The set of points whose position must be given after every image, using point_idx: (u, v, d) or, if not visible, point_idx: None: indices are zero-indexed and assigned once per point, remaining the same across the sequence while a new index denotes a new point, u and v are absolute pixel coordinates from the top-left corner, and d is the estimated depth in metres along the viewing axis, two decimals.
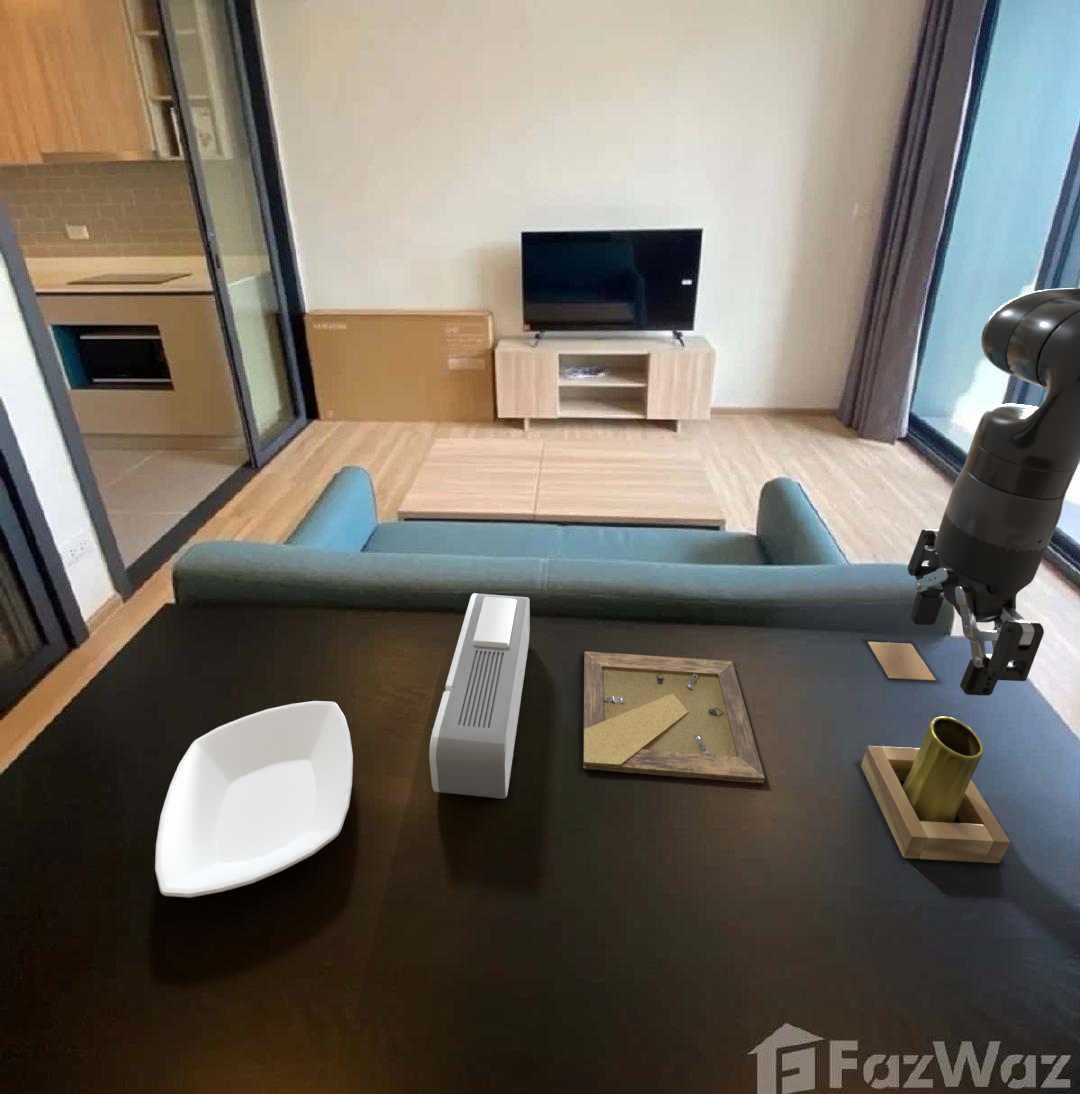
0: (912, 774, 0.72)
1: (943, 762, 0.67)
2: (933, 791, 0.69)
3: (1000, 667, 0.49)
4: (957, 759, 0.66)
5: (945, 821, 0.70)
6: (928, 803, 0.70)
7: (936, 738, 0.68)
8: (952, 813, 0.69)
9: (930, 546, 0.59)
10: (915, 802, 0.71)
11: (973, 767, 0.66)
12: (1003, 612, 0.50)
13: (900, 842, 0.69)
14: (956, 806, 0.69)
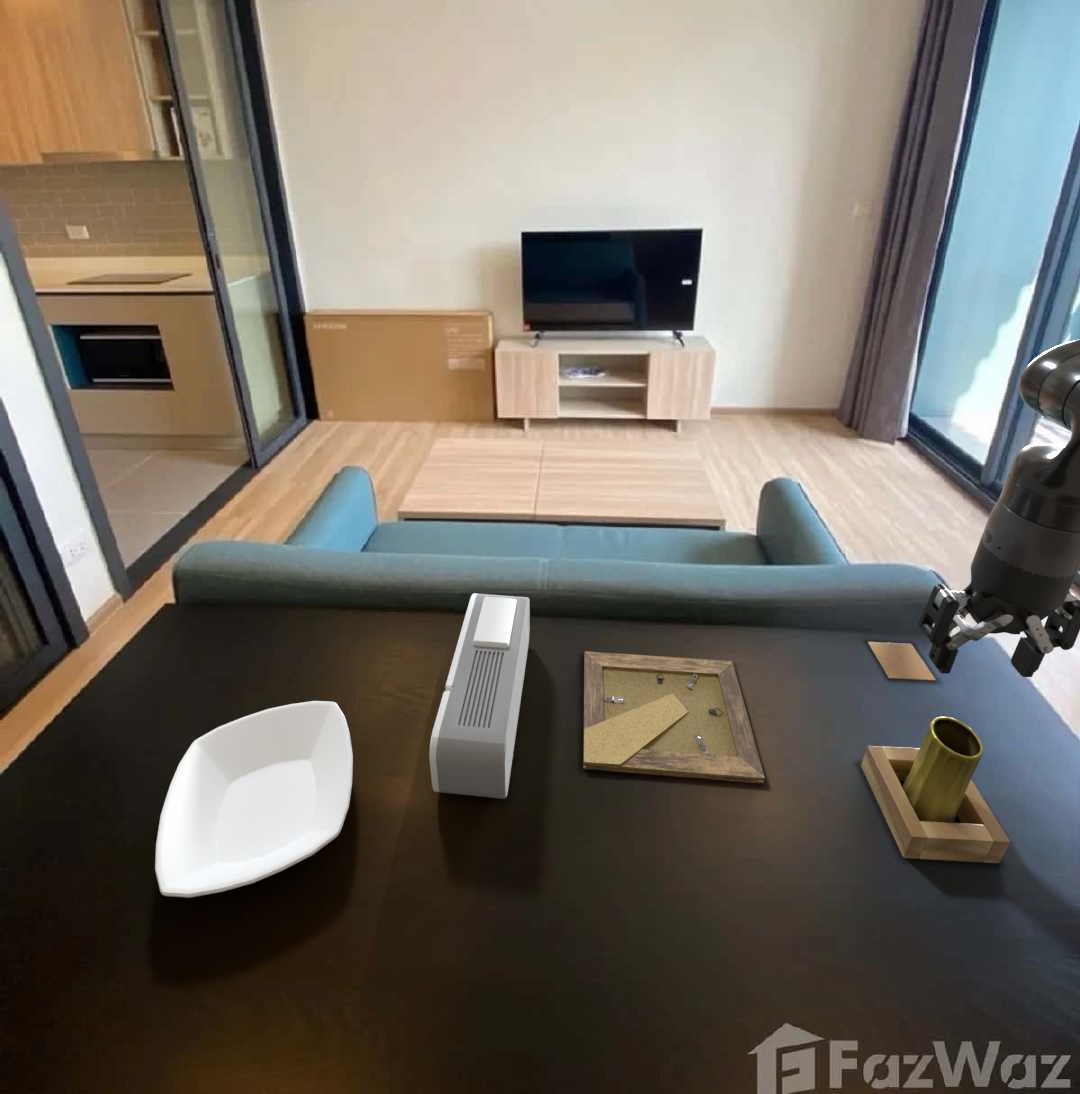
0: (912, 774, 0.72)
1: (943, 763, 0.67)
2: (933, 791, 0.69)
3: (922, 614, 0.62)
4: (957, 759, 0.66)
5: (945, 822, 0.70)
6: (928, 803, 0.70)
7: (936, 738, 0.68)
8: (952, 813, 0.69)
9: None
10: (915, 802, 0.71)
11: (973, 767, 0.66)
12: None
13: (900, 842, 0.69)
14: (956, 806, 0.69)
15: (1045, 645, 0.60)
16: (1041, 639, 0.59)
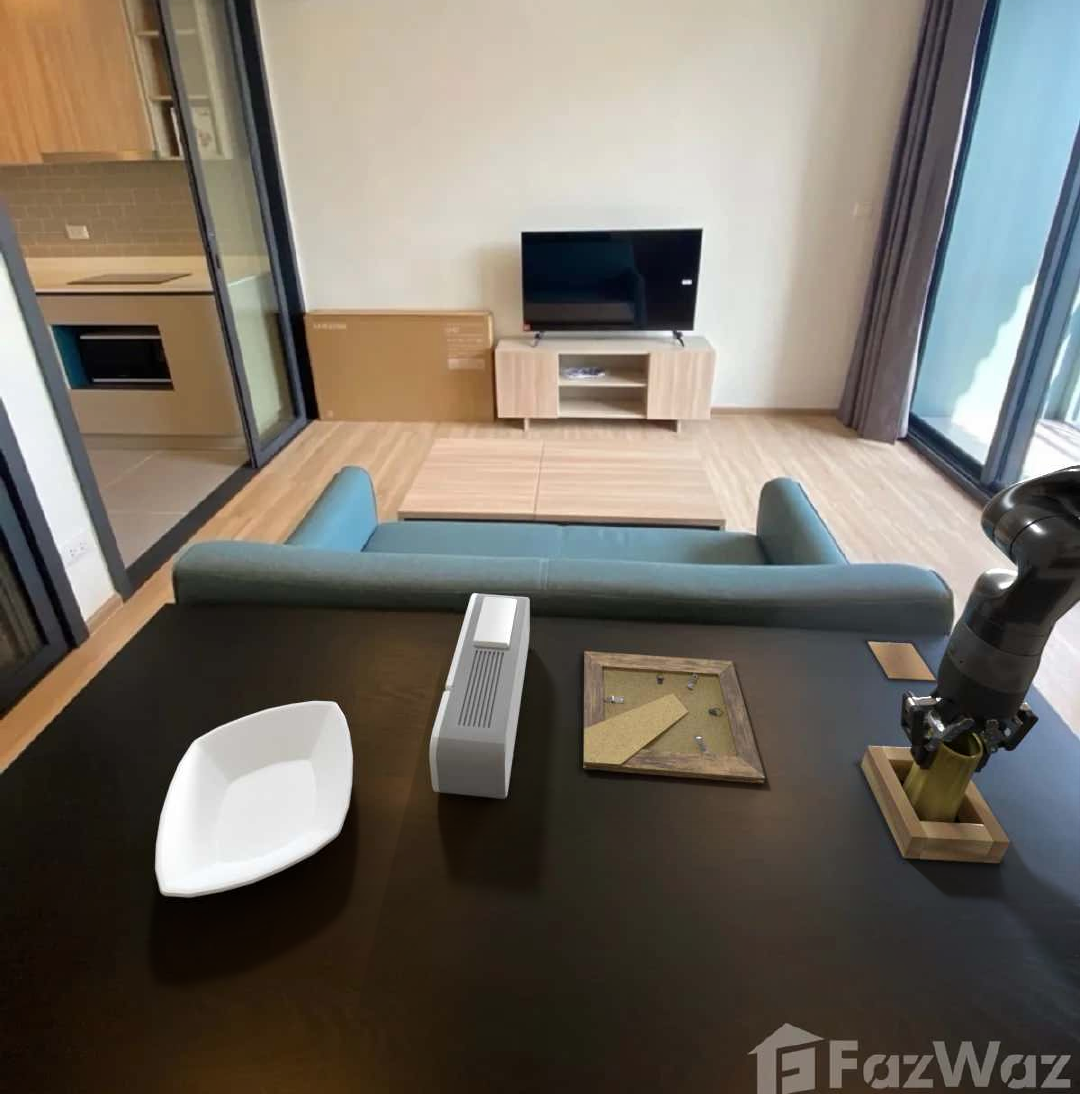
0: (912, 774, 0.72)
1: (943, 762, 0.67)
2: (933, 791, 0.69)
3: (901, 717, 0.69)
4: (957, 759, 0.66)
5: (945, 821, 0.70)
6: (928, 803, 0.70)
7: None
8: (952, 813, 0.69)
9: None
10: (915, 802, 0.71)
11: (973, 767, 0.66)
12: None
13: (900, 842, 0.69)
14: (956, 806, 0.69)
15: (991, 746, 0.66)
16: (992, 741, 0.65)
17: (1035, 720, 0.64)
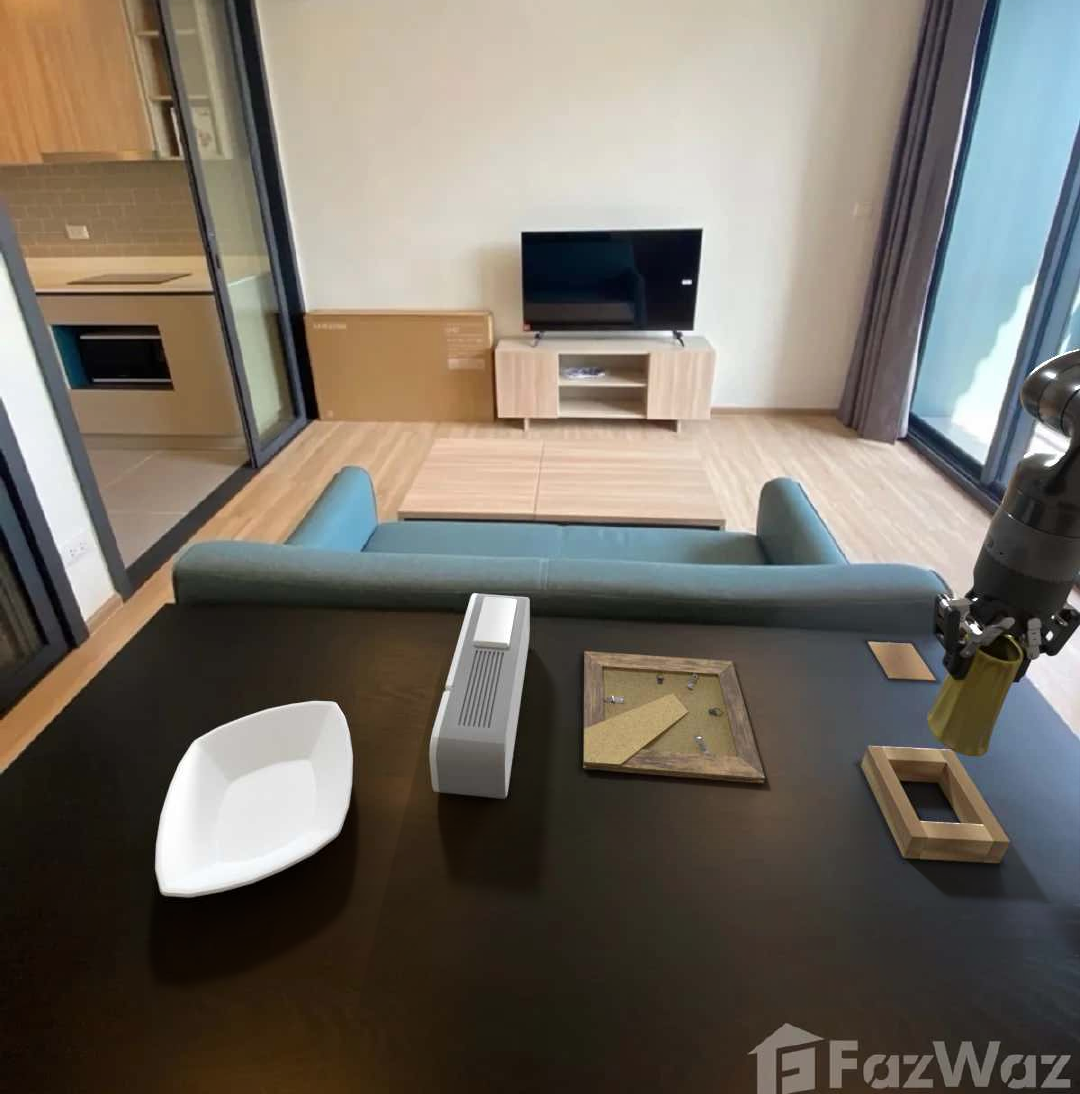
0: (945, 689, 0.67)
1: (979, 670, 0.62)
2: (968, 704, 0.64)
3: (933, 624, 0.64)
4: (995, 666, 0.61)
5: (981, 737, 0.65)
6: (962, 718, 0.65)
7: None
8: (989, 727, 0.64)
9: None
10: (948, 718, 0.66)
11: (1012, 674, 0.61)
12: None
13: (900, 842, 0.69)
14: (993, 719, 0.64)
15: (1032, 651, 0.61)
16: (1033, 644, 0.60)
17: None
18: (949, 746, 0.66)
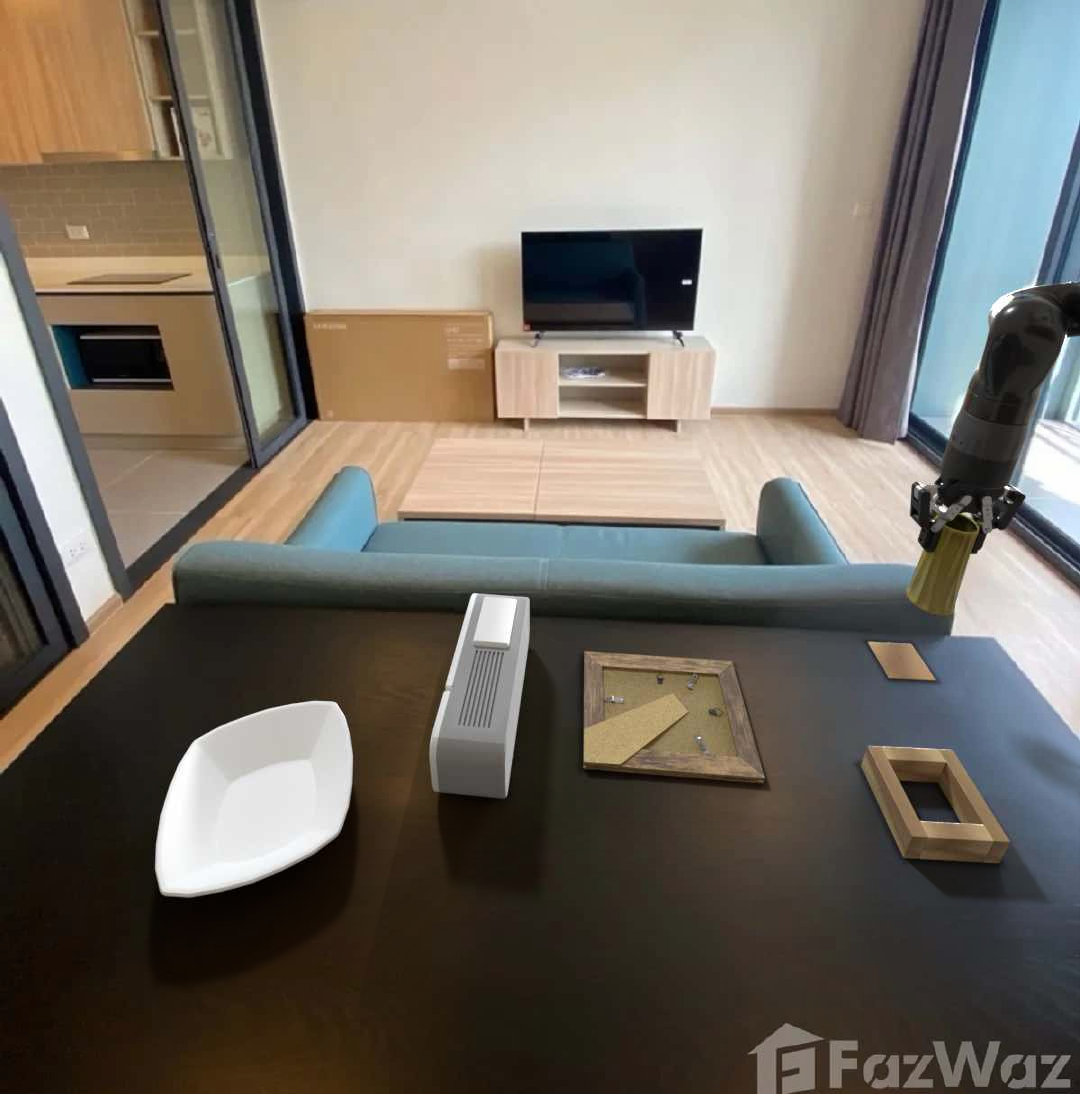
0: (920, 563, 0.84)
1: (946, 542, 0.80)
2: (937, 571, 0.81)
3: (910, 508, 0.81)
4: (958, 536, 0.79)
5: (948, 598, 0.82)
6: (933, 583, 0.82)
7: None
8: (954, 589, 0.81)
9: None
10: (922, 585, 0.83)
11: (971, 544, 0.79)
12: None
13: (900, 842, 0.69)
14: (957, 583, 0.81)
15: (987, 526, 0.79)
16: (987, 518, 0.78)
17: (1023, 498, 0.77)
18: (923, 608, 0.84)
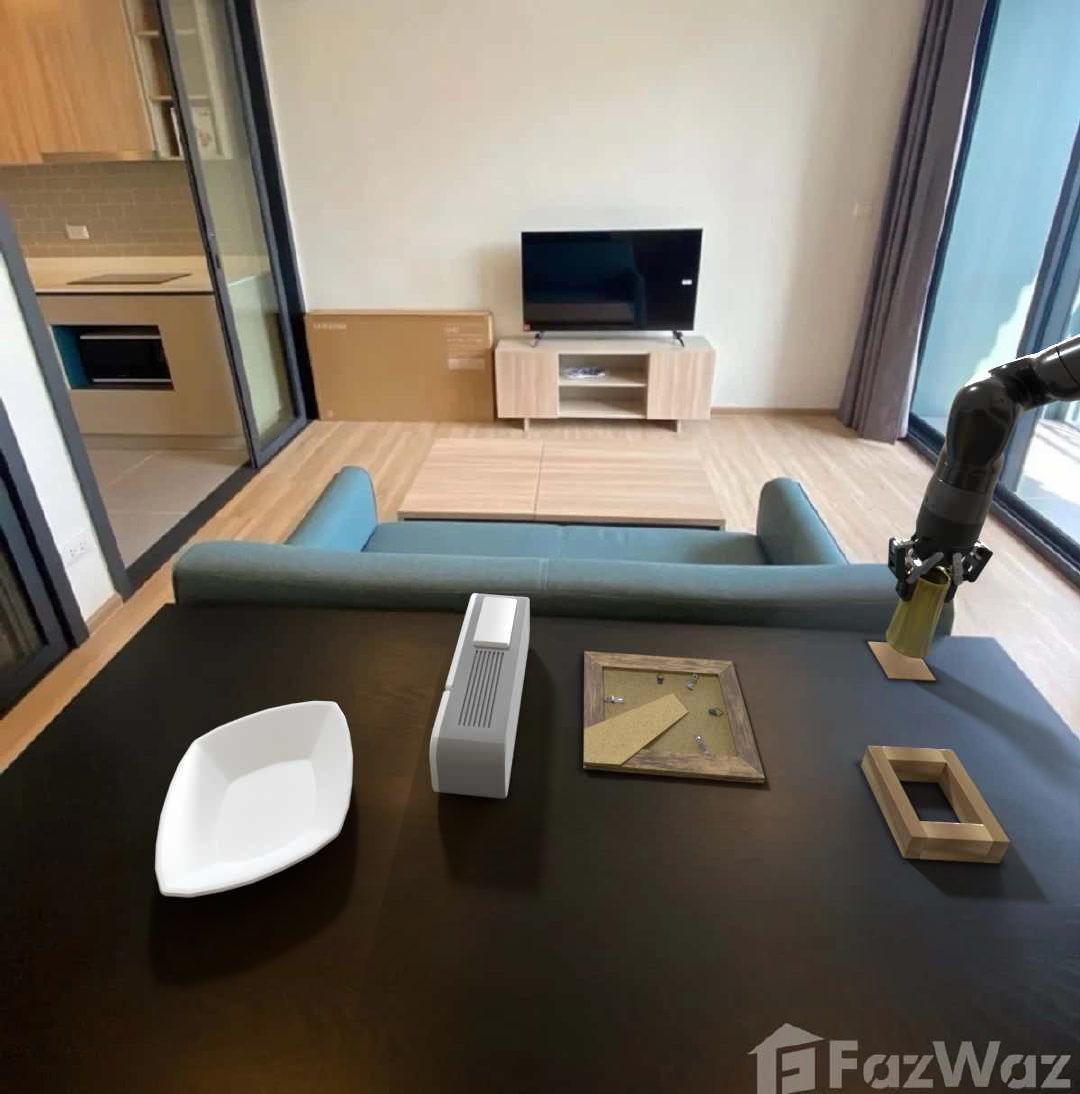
0: (897, 610, 0.91)
1: (920, 592, 0.87)
2: (913, 618, 0.88)
3: (888, 560, 0.88)
4: (931, 588, 0.86)
5: (923, 643, 0.89)
6: (909, 629, 0.89)
7: None
8: (928, 635, 0.88)
9: None
10: (899, 630, 0.90)
11: (943, 595, 0.86)
12: None
13: (900, 842, 0.69)
14: (931, 629, 0.88)
15: (958, 579, 0.86)
16: (957, 572, 0.85)
17: (990, 554, 0.84)
18: (900, 651, 0.91)
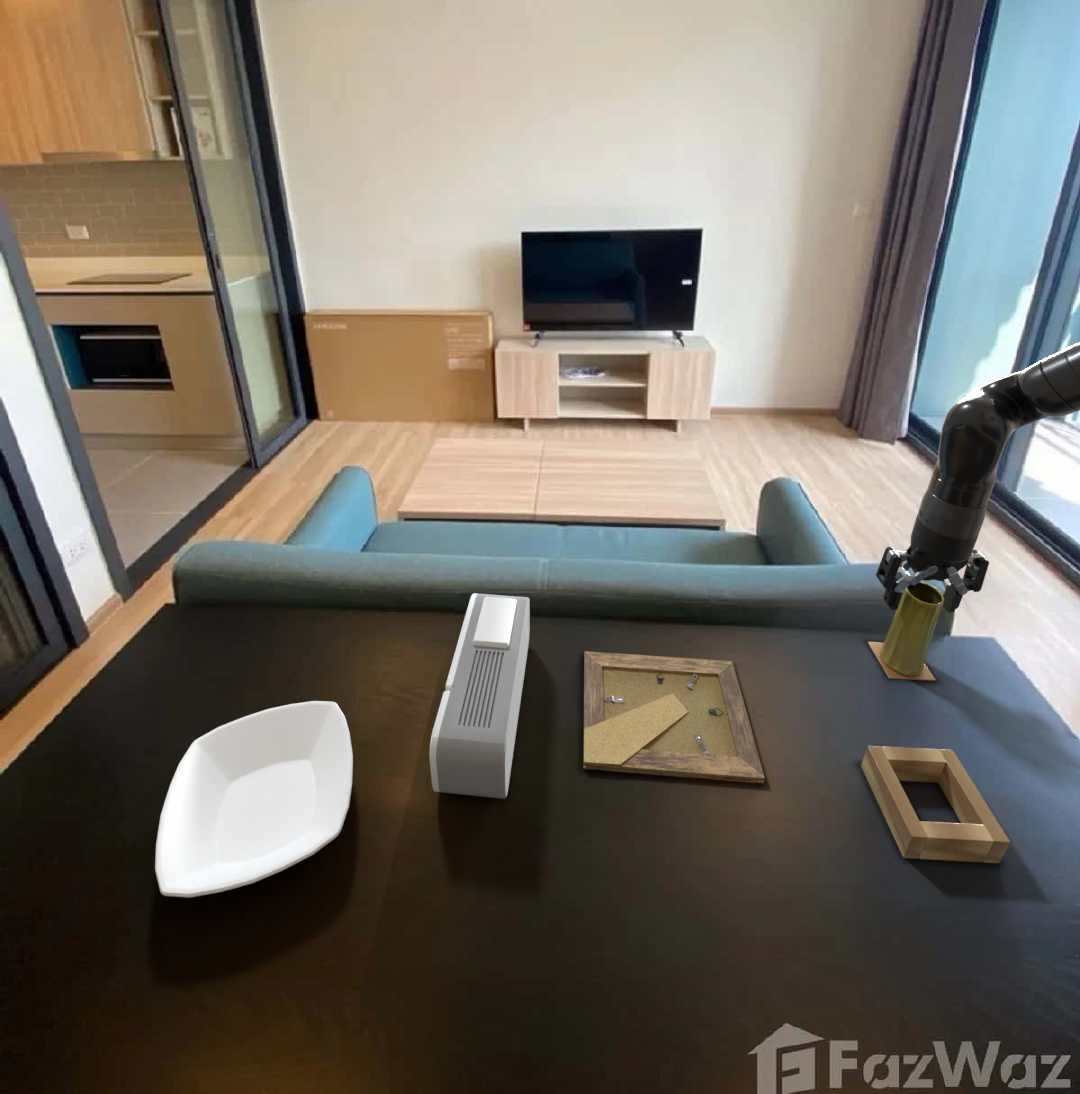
0: (892, 627, 0.93)
1: (914, 611, 0.88)
2: (907, 636, 0.90)
3: (878, 568, 0.89)
4: (924, 607, 0.87)
5: (916, 661, 0.90)
6: (903, 647, 0.91)
7: (909, 593, 0.88)
8: (922, 653, 0.90)
9: None
10: (894, 648, 0.92)
11: (936, 613, 0.87)
12: None
13: (900, 842, 0.69)
14: (924, 647, 0.90)
15: (961, 589, 0.87)
16: (958, 584, 0.86)
17: (986, 563, 0.85)
18: (894, 669, 0.92)
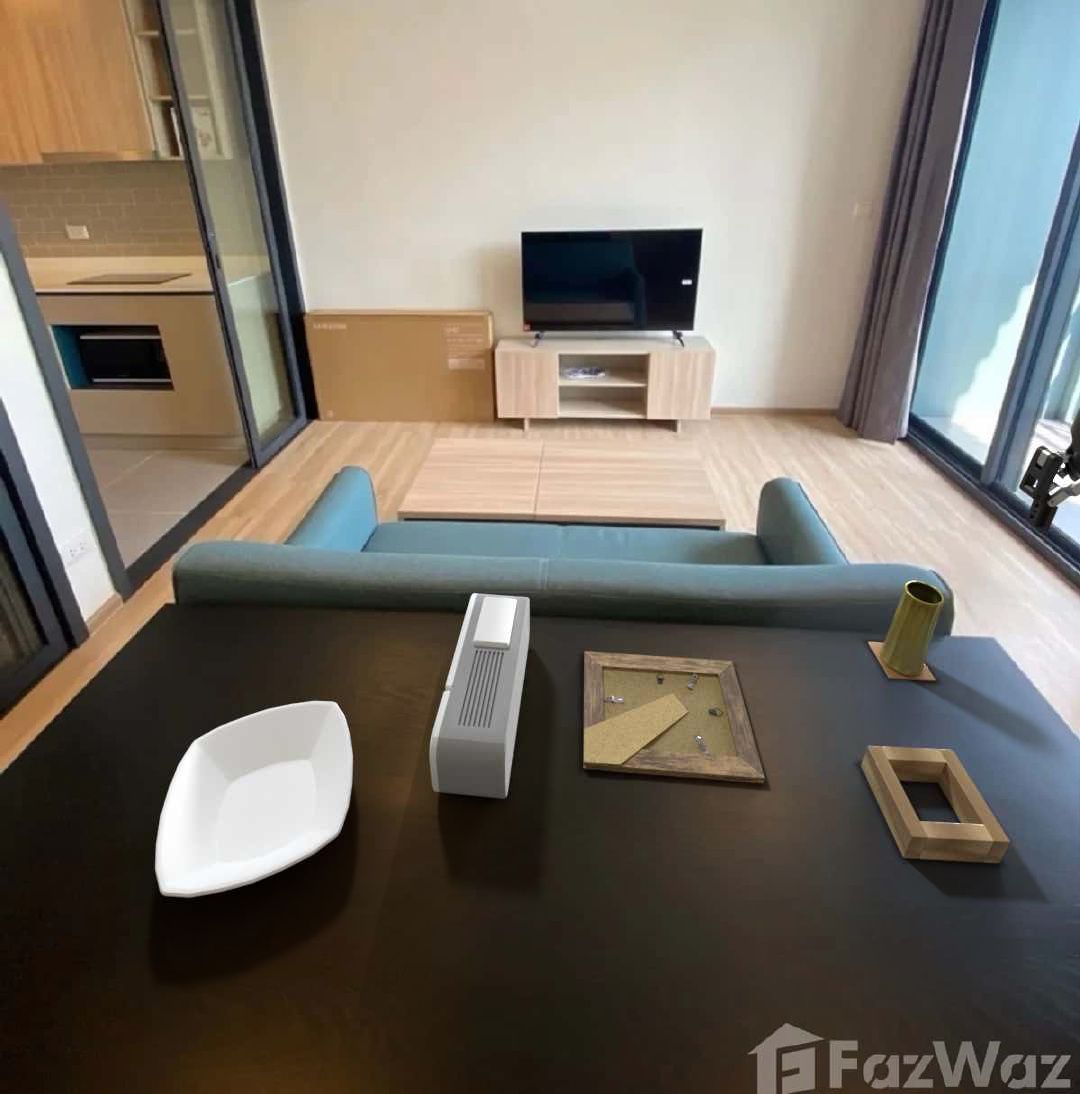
0: (892, 627, 0.93)
1: (914, 611, 0.88)
2: (907, 636, 0.90)
3: (1023, 477, 0.68)
4: (924, 607, 0.87)
5: (916, 661, 0.90)
6: (903, 647, 0.91)
7: (909, 593, 0.88)
8: (922, 653, 0.90)
9: None
10: (894, 648, 0.92)
11: (936, 613, 0.87)
12: None
13: (900, 842, 0.69)
14: (924, 647, 0.90)
15: None
16: None
17: None
18: (894, 669, 0.92)
